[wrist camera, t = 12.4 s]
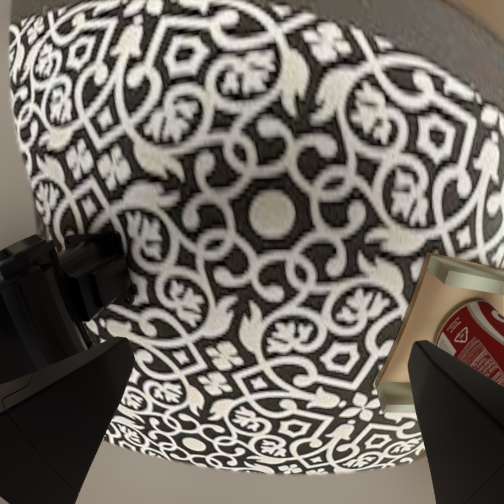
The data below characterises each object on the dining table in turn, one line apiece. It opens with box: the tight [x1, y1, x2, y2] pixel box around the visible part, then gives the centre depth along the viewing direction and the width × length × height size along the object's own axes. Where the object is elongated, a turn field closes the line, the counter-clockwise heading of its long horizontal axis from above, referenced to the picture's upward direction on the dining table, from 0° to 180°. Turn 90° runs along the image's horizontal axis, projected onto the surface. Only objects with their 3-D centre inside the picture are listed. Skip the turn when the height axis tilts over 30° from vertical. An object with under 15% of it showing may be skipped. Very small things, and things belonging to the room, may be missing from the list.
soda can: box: [435, 300, 504, 387], centre depth 14 cm, size 7×7×12 cm
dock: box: [375, 252, 504, 412], centre depth 19 cm, size 13×13×4 cm
